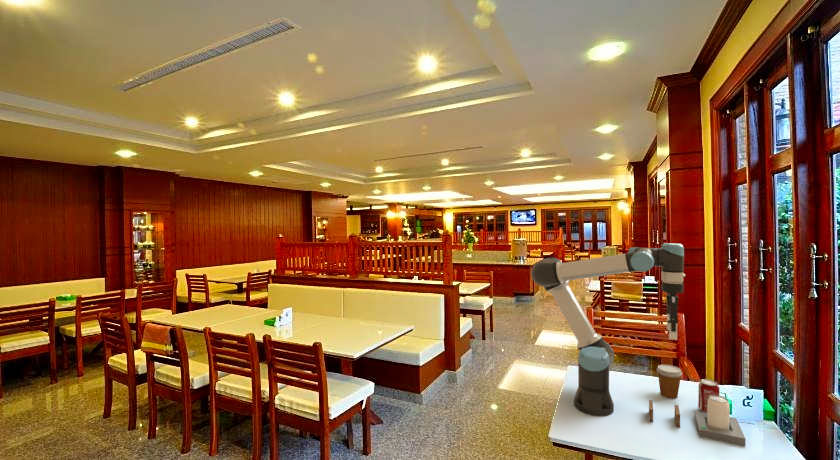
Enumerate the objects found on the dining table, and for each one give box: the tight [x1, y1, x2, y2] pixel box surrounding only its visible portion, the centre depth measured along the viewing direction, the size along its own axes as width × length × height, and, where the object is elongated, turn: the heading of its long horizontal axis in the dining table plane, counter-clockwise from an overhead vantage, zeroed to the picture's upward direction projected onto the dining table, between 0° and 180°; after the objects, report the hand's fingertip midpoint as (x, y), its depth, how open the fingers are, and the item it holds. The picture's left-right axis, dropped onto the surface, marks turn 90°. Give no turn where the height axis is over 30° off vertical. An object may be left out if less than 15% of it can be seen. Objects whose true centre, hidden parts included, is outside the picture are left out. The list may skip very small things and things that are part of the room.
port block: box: [693, 410, 746, 447], centre depth 147 cm, size 13×15×3 cm
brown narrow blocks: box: [648, 399, 681, 429], centre depth 155 cm, size 10×8×5 cm
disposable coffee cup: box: [656, 364, 683, 400], centre depth 175 cm, size 10×10×12 cm
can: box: [707, 395, 731, 431], centre depth 147 cm, size 6×6×12 cm
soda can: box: [697, 378, 720, 413], centre depth 161 cm, size 7×7×12 cm
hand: (671, 334), depth 162 cm, fingers open, 13 cm apart
